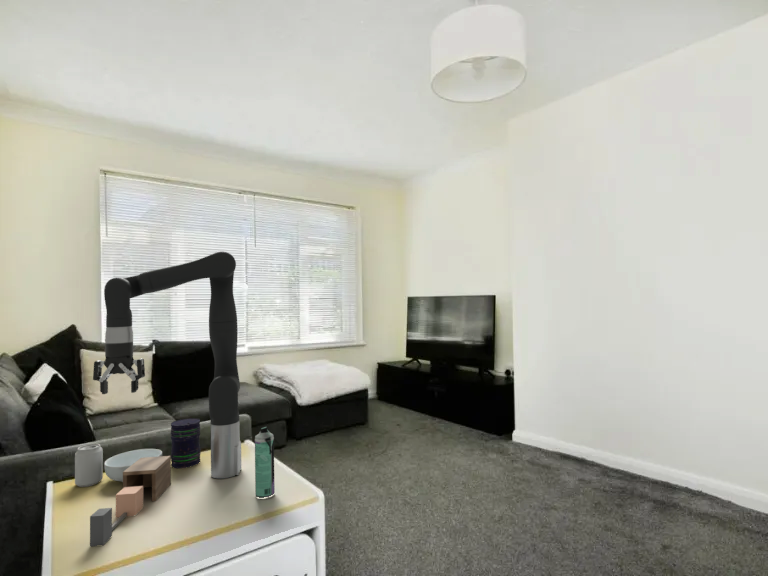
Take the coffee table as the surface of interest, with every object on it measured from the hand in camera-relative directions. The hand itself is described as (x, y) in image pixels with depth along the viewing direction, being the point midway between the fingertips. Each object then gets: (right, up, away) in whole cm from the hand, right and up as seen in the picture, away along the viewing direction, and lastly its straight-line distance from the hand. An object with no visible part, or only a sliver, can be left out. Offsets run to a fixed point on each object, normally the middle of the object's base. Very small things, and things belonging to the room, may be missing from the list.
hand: (119, 393), depth 135 cm
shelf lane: (+11, -30, -4) cm, 32 cm away
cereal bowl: (0, -31, +9) cm, 32 cm away
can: (-13, -31, +5) cm, 34 cm away
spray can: (+48, -29, -7) cm, 56 cm away
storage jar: (+11, -31, +21) cm, 39 cm away
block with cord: (+14, -29, -23) cm, 39 cm away
